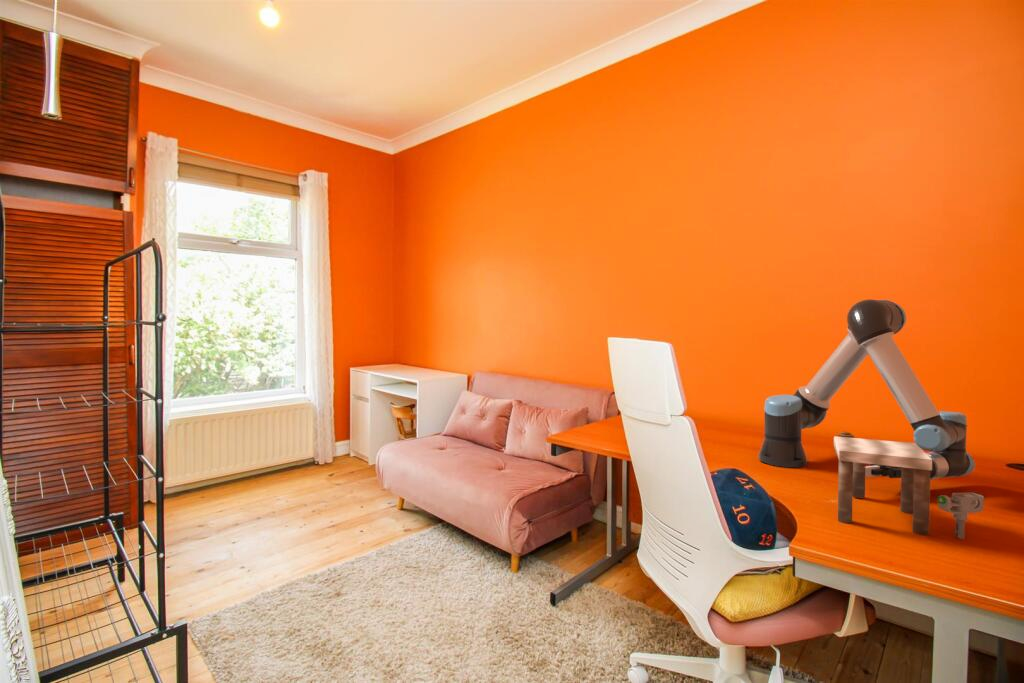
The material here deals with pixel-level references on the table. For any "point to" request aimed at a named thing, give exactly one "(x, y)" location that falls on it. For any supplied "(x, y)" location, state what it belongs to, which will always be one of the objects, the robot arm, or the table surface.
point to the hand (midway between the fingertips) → (860, 472)
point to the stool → (889, 454)
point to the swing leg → (859, 480)
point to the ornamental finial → (845, 435)
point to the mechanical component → (961, 508)
